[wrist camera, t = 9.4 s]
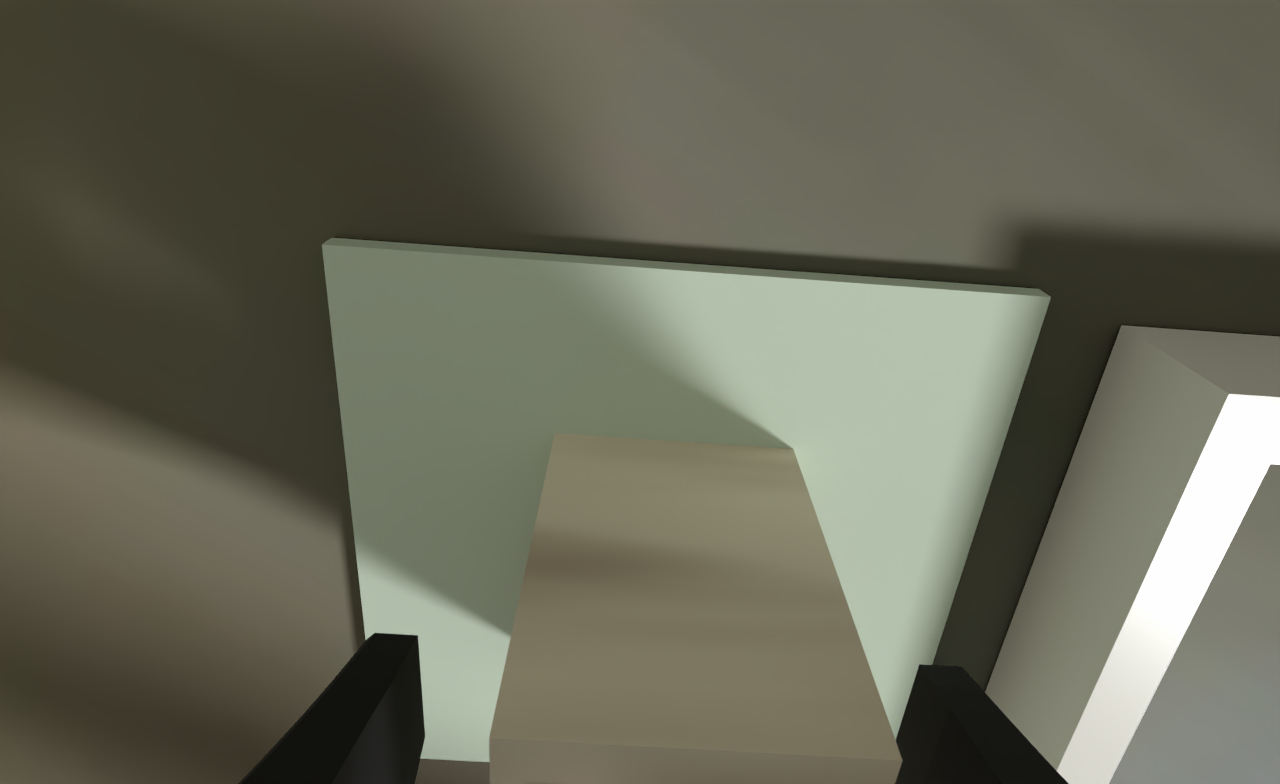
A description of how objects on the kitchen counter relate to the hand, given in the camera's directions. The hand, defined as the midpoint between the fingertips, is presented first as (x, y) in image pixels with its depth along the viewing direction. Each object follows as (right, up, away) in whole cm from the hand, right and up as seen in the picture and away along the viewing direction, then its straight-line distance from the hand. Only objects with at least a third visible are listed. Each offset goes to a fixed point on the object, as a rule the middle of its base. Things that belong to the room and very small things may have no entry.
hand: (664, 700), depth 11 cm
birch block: (0, +1, +3) cm, 3 cm away
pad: (0, +2, +3) cm, 3 cm away
